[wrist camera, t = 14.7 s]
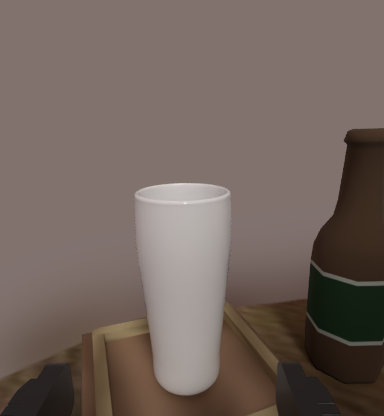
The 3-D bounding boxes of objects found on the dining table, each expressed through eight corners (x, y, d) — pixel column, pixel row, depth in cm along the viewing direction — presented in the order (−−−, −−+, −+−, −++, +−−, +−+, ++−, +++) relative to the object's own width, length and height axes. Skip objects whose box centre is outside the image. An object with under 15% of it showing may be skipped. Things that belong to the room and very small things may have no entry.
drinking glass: (131, 364, 25) (117, 189, 22) (196, 334, 29) (194, 180, 25) (172, 427, 20) (163, 207, 16) (246, 379, 24) (253, 192, 20)
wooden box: (229, 340, 36) (229, 294, 34) (332, 482, 21) (340, 413, 20) (87, 377, 30) (80, 325, 29) (91, 601, 16) (79, 518, 14)
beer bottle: (338, 328, 37) (360, 129, 32) (402, 372, 30) (445, 127, 25) (288, 346, 34) (303, 130, 29) (346, 399, 27) (380, 128, 22)
